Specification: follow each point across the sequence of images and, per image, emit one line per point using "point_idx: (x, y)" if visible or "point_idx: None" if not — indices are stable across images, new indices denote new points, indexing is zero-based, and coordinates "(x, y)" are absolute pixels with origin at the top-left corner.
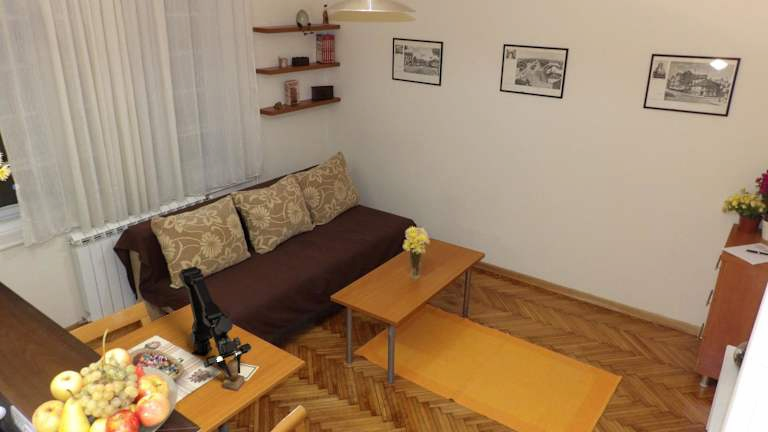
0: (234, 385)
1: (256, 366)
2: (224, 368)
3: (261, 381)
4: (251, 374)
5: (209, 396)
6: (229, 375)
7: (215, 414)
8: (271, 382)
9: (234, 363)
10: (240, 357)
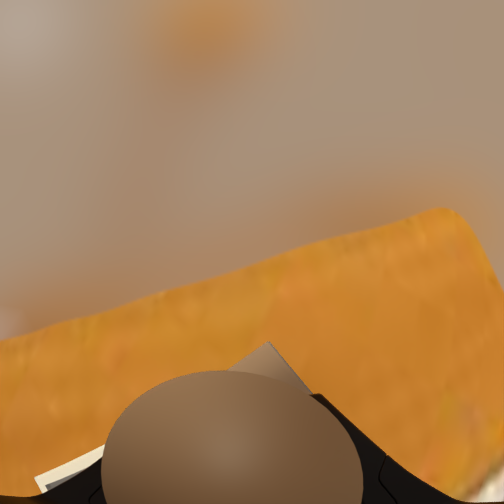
0: (282, 362)
1: (43, 492)
2: (403, 472)
3: (82, 373)
4: (93, 458)
5: (431, 417)
6: (327, 402)
7: (428, 248)
8: (55, 325)
9: (212, 409)
10: (18, 498)
